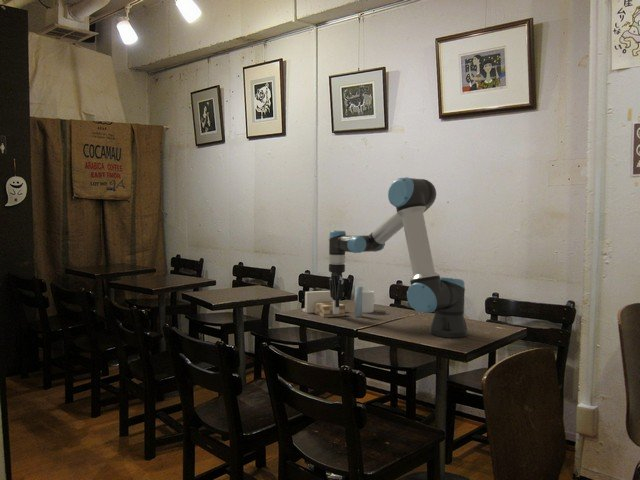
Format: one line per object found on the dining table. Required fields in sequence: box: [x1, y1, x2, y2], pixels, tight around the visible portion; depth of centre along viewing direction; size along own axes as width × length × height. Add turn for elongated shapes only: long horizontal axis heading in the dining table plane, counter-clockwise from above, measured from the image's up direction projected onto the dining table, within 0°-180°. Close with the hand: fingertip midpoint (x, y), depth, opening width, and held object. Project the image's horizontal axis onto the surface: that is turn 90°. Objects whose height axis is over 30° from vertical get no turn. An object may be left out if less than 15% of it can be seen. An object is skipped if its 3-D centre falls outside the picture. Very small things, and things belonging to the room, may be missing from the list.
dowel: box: [354, 285, 364, 318], centre depth 251 cm, size 3×3×14 cm
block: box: [314, 302, 346, 318], centre depth 255 cm, size 11×11×5 cm
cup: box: [362, 289, 375, 314], centre depth 266 cm, size 8×12×10 cm
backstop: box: [302, 290, 341, 314], centre depth 263 cm, size 5×18×10 cm, turn 114°
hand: (335, 313), depth 248 cm, fingers closed
